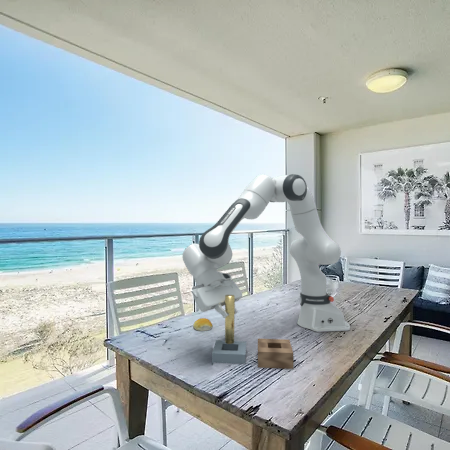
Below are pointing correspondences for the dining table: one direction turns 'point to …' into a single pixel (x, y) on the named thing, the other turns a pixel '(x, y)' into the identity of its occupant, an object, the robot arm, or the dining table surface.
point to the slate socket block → (229, 352)
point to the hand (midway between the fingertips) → (231, 315)
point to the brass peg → (229, 319)
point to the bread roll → (202, 324)
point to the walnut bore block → (275, 353)
